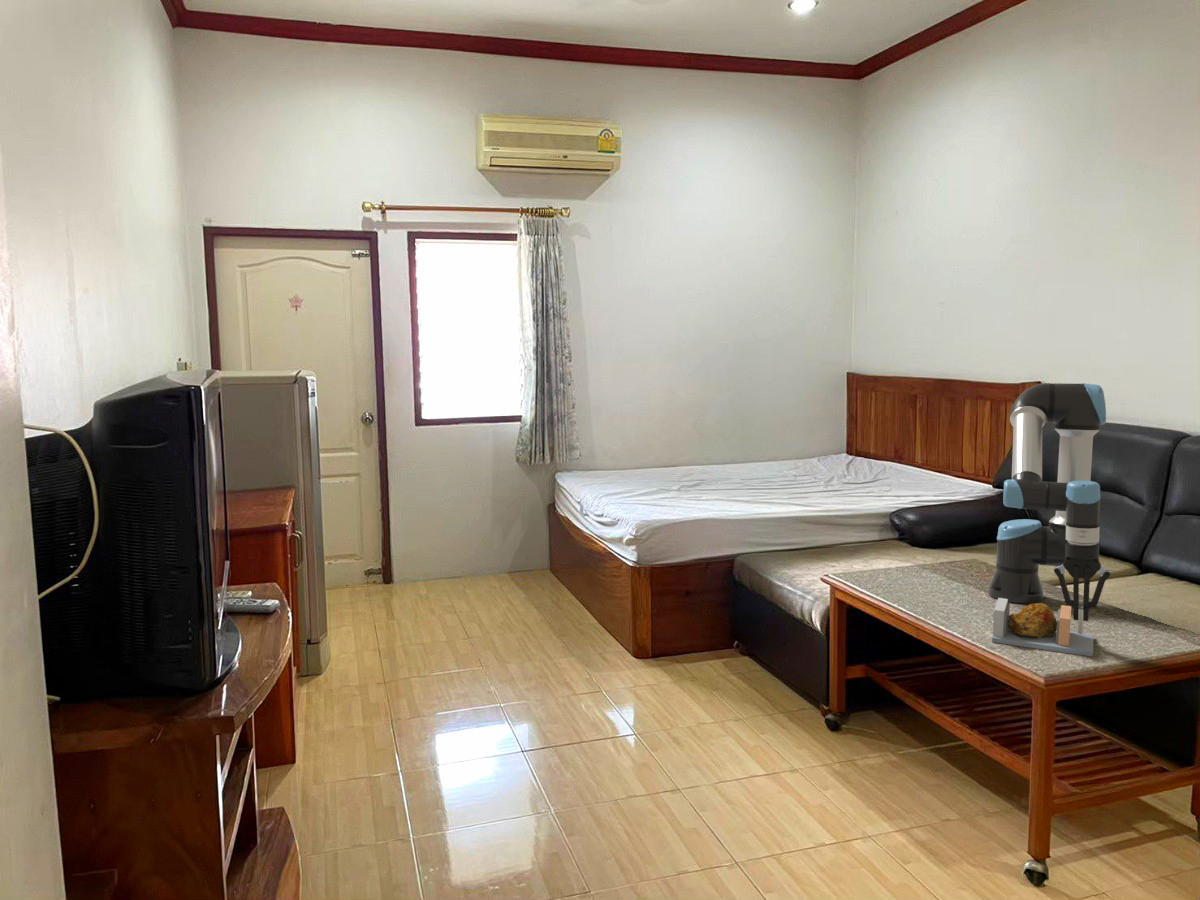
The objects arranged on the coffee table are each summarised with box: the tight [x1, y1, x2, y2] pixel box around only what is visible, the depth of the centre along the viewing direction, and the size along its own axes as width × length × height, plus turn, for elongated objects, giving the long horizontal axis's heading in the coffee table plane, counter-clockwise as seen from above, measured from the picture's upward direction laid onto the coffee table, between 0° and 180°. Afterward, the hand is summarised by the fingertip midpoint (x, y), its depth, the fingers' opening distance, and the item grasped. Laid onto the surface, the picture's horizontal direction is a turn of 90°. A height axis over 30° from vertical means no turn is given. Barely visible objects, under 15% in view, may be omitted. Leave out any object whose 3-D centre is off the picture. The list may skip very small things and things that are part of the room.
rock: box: [1008, 602, 1057, 638], centre depth 235 cm, size 11×8×10 cm
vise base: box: [991, 598, 1094, 657], centre depth 233 cm, size 15×23×8 cm, turn 62°
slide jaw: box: [1056, 604, 1072, 646], centre depth 231 cm, size 12×3×7 cm, turn 152°
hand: (1080, 632), depth 229 cm, fingers closed
